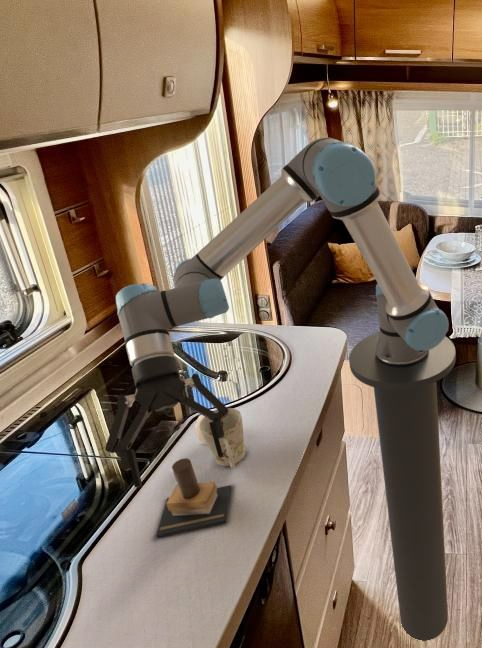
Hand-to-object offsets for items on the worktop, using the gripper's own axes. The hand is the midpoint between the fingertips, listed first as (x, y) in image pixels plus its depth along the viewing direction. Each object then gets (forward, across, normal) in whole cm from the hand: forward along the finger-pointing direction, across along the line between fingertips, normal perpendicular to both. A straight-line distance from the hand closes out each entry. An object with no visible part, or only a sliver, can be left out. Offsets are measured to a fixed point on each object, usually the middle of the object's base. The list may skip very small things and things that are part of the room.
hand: (181, 471), depth 89 cm
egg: (-7, -6, -24) cm, 26 cm away
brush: (+6, 0, -10) cm, 12 cm away
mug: (0, -8, -18) cm, 19 cm away
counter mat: (+7, 0, -10) cm, 12 cm away
